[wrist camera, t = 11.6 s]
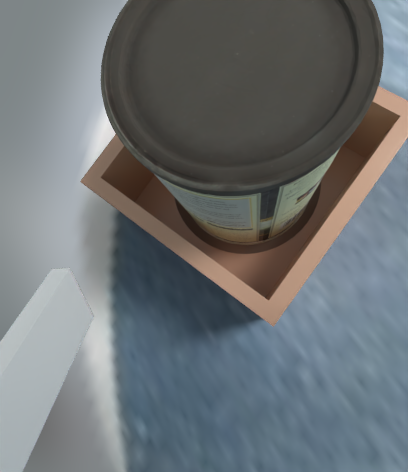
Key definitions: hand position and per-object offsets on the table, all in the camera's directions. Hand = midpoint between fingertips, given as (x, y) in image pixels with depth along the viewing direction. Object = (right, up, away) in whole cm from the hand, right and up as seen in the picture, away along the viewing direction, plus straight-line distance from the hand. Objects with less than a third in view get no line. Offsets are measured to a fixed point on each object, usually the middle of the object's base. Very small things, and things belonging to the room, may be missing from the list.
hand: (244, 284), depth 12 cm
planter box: (+2, +6, +14) cm, 15 cm away
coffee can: (+2, +6, +14) cm, 15 cm away
